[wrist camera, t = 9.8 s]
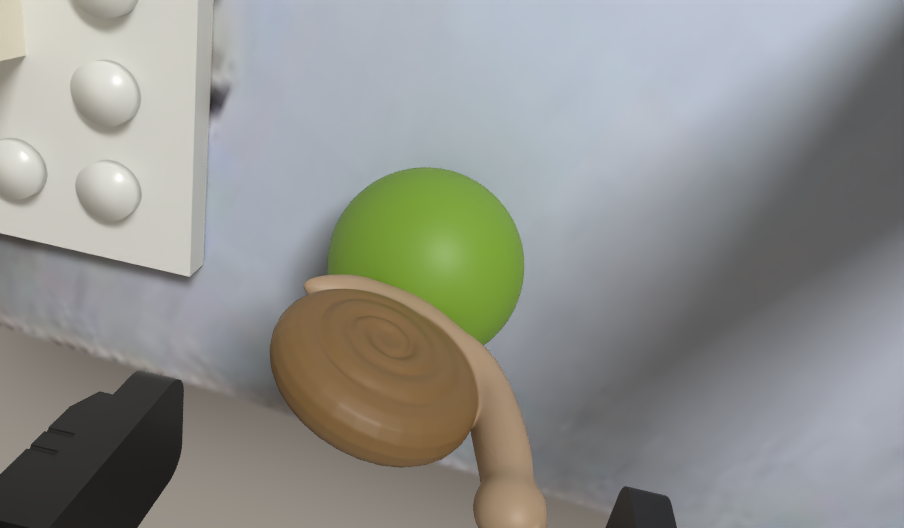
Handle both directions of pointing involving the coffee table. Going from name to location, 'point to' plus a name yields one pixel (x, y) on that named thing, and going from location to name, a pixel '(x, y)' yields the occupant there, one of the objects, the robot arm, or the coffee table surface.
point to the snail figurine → (415, 337)
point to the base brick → (11, 30)
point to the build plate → (109, 129)
